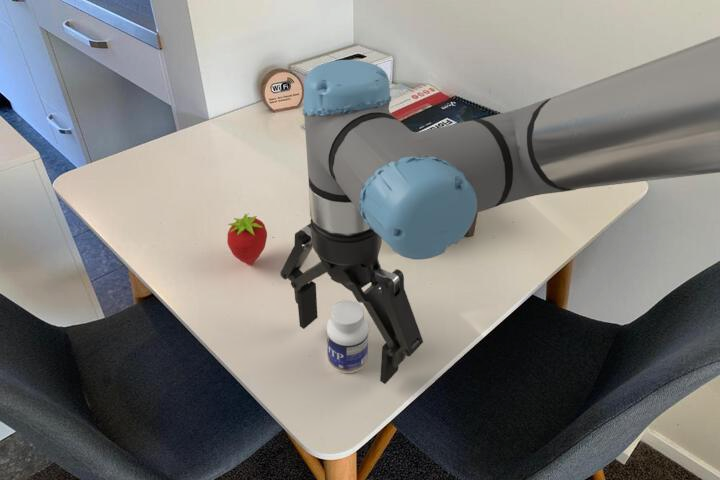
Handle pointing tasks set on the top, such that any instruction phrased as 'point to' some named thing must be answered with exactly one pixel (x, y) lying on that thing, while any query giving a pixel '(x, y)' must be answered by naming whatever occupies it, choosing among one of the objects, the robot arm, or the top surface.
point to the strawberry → (247, 239)
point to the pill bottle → (347, 337)
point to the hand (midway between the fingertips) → (347, 347)
